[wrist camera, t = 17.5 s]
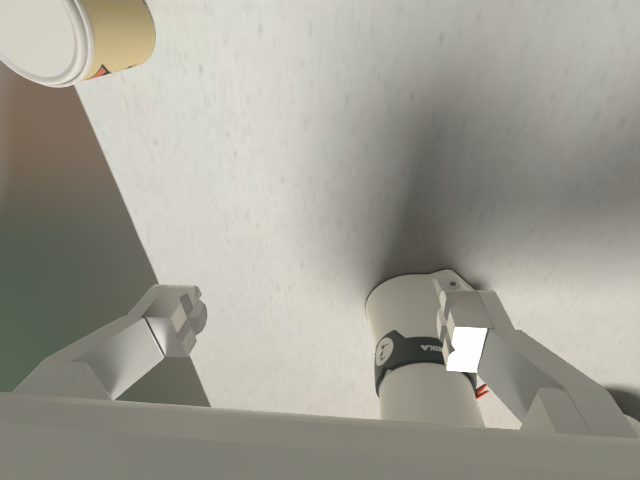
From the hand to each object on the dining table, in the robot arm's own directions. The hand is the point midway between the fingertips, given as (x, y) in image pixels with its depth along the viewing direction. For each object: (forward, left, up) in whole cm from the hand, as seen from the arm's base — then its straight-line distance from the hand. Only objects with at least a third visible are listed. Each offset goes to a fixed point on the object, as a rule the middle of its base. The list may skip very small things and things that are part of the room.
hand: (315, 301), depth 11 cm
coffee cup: (+26, +5, -31) cm, 41 cm away
